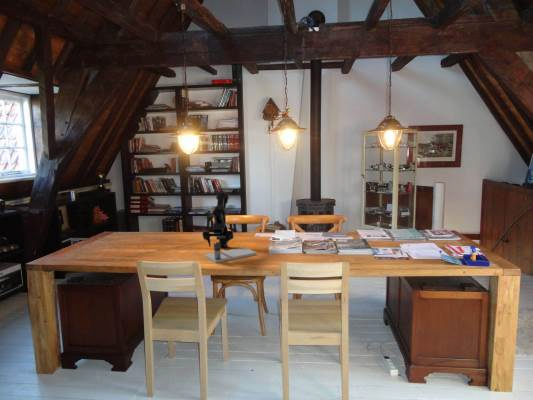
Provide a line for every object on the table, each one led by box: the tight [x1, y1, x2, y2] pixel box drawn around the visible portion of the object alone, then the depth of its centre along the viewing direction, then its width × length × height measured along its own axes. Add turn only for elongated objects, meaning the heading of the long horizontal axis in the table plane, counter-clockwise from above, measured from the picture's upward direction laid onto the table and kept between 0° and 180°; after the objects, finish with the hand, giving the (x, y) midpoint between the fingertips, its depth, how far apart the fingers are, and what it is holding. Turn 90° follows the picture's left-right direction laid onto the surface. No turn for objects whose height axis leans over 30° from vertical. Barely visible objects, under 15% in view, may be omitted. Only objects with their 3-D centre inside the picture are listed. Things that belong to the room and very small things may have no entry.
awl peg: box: [213, 241, 222, 260], centre depth 236 cm, size 4×4×10 cm
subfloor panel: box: [203, 246, 258, 264], centre depth 248 cm, size 16×29×2 cm, turn 123°
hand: (217, 246), depth 237 cm, fingers open, 9 cm apart
